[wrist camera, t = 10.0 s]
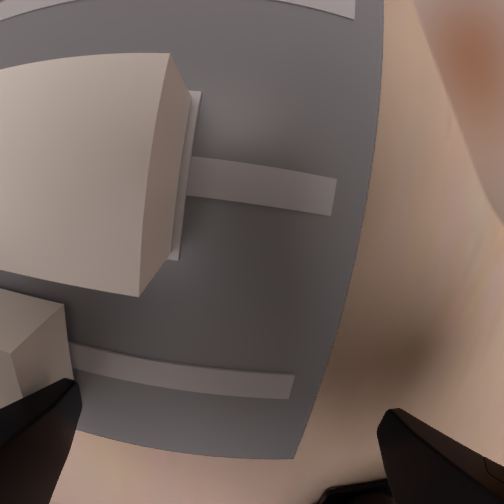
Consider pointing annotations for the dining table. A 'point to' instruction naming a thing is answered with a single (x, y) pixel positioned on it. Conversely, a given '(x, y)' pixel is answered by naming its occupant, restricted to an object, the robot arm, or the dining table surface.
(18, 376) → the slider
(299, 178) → the switch panel
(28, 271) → the slider middle
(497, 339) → the dining table surface
